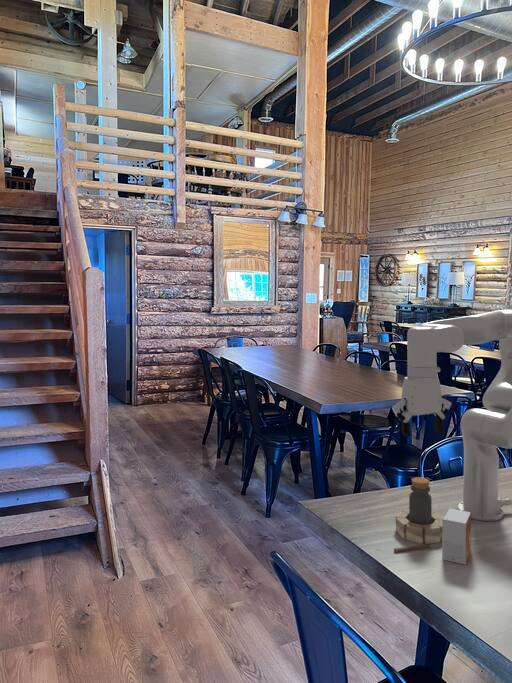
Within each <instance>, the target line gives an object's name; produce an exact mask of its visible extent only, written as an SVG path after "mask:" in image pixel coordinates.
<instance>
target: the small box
mask: <svg viewBox="0 0 512 683" xmlns="http://www.w3.org/2000/svg"><path fill="white" fill-rule="evenodd" d="M471 534H472V519H471V512H467V511H461V510H458V509H454V508H450V507H449V508H448V509H447V512H446V513H445V515H444V517H443V519H442V541H441V543H442V544H441V546H442V547H441V550H442V553H441V554H442V555H441V557H442V558H441V560H443V561H449V562H453V563H456V564H461V565H465V566H466V564H467V560H468V558H469V556H470V554H471V543H472V541H471V540H472V539H471V538H472V535H471Z"/></svg>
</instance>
